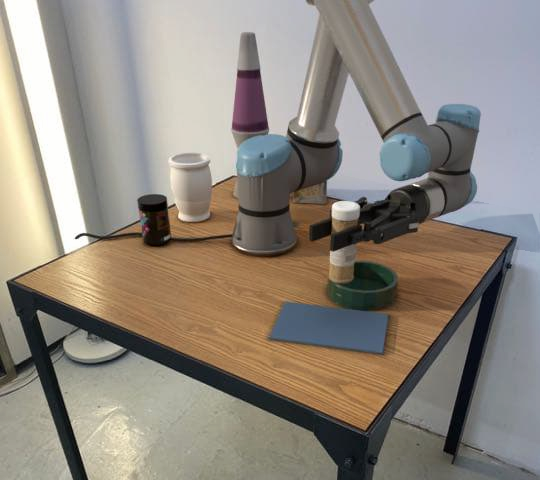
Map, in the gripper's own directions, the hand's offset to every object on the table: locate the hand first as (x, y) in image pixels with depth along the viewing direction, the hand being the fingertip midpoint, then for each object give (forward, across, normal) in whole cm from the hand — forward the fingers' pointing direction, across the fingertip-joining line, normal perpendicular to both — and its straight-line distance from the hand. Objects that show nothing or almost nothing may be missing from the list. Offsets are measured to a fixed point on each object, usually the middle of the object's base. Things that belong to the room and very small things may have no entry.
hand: (321, 238), depth 92 cm
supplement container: (+2, +53, -18) cm, 56 cm away
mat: (-3, -1, -18) cm, 18 cm away
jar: (-13, +61, -18) cm, 65 cm away
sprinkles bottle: (-5, 0, -9) cm, 11 cm away
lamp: (-35, +64, -18) cm, 76 cm away
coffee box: (-45, +50, -18) cm, 70 cm away
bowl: (-16, +4, -18) cm, 25 cm away
